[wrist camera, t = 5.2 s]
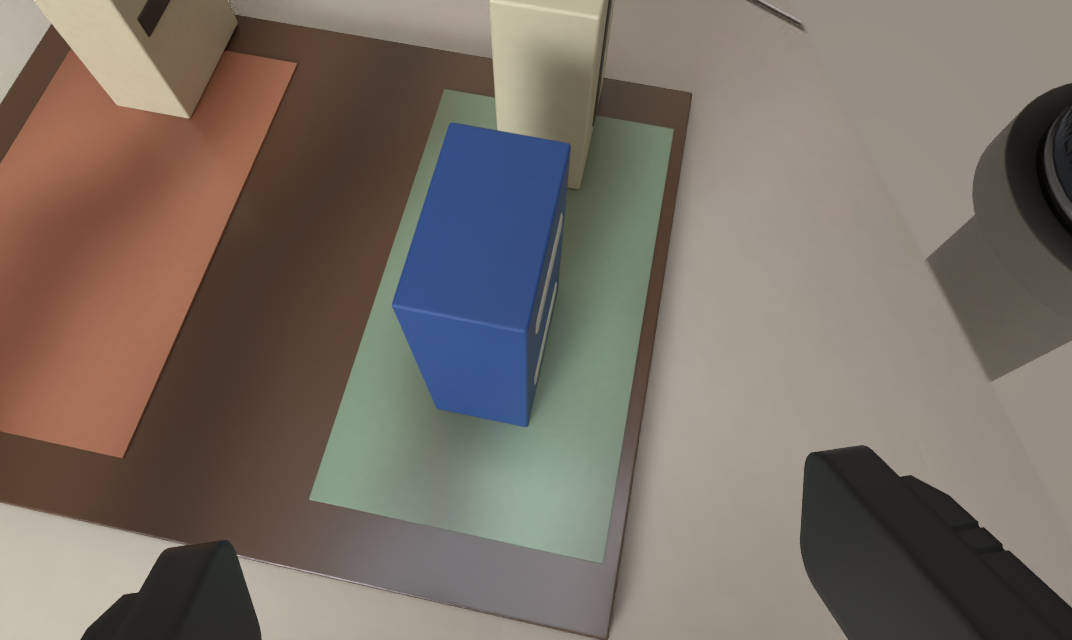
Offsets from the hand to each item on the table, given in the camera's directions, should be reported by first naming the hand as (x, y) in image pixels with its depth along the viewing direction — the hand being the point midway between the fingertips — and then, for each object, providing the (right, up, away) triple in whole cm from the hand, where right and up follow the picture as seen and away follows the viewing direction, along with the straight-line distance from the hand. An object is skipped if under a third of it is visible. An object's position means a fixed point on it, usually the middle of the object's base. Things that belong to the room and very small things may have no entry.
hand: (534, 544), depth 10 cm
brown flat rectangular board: (-9, +5, +15) cm, 18 cm away
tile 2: (+1, +10, +17) cm, 20 cm away
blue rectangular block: (-1, +2, +13) cm, 14 cm away
